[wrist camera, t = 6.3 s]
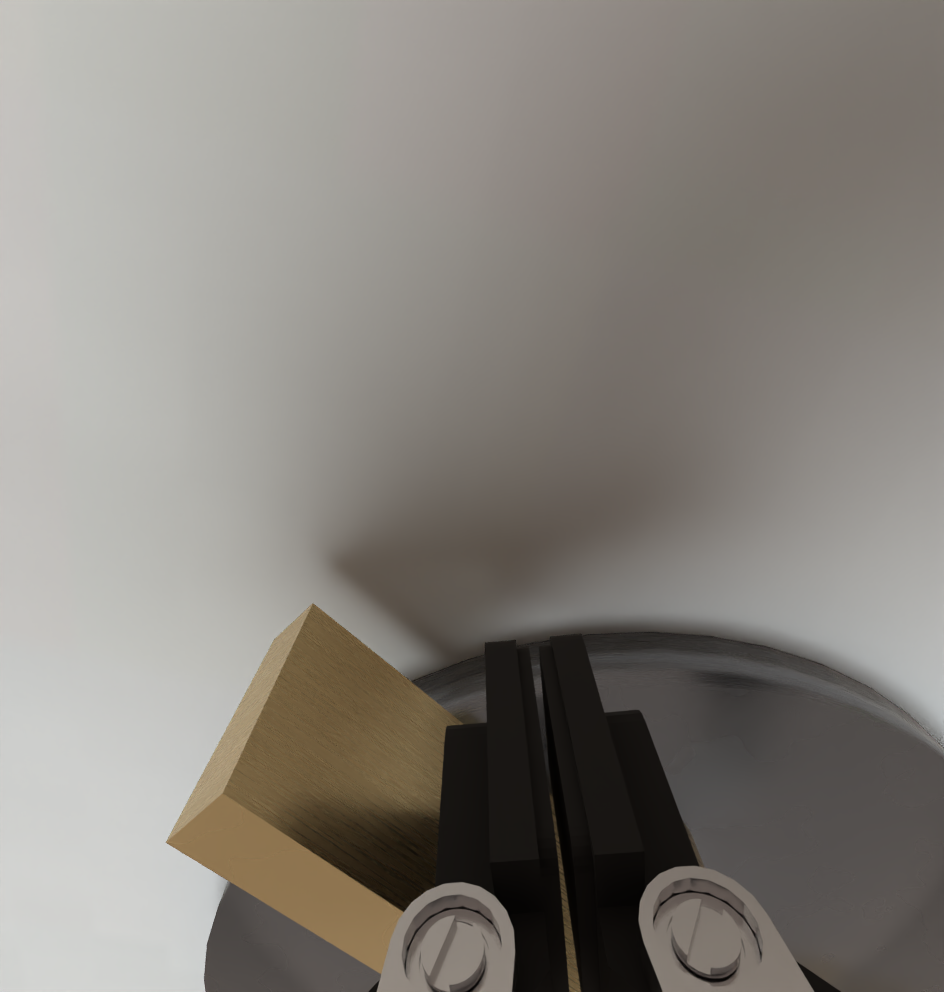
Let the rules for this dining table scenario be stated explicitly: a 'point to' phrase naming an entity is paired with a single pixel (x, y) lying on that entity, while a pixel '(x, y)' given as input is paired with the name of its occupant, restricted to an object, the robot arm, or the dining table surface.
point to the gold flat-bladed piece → (330, 792)
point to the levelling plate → (722, 811)
